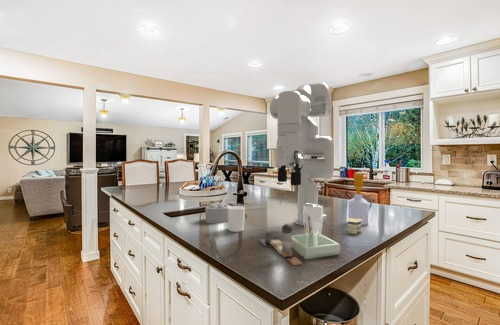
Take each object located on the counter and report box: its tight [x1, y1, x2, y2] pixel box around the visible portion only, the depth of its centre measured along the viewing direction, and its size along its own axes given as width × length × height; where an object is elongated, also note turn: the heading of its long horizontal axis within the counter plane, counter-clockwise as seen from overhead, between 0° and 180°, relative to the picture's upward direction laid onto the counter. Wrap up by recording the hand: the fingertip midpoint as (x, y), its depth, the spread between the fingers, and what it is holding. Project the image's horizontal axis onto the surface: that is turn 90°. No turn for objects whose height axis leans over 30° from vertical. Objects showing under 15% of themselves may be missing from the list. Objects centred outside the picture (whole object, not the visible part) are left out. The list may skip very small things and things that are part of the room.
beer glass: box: [303, 203, 324, 247], centre depth 90 cm, size 7×7×15 cm
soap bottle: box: [347, 172, 369, 226], centre depth 124 cm, size 9×9×25 cm
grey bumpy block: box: [204, 201, 230, 224], centre depth 129 cm, size 10×13×9 cm
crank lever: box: [264, 223, 293, 258], centre depth 90 cm, size 18×5×10 cm, turn 15°
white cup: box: [227, 205, 246, 233], centre depth 113 cm, size 8×8×10 cm
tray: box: [291, 233, 341, 260], centre depth 89 cm, size 13×13×4 cm
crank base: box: [258, 238, 303, 266], centre depth 89 cm, size 8×24×1 cm, turn 17°
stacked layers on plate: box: [347, 217, 363, 235], centre depth 110 cm, size 10×9×6 cm
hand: (288, 183), depth 83 cm, fingers open, 9 cm apart
